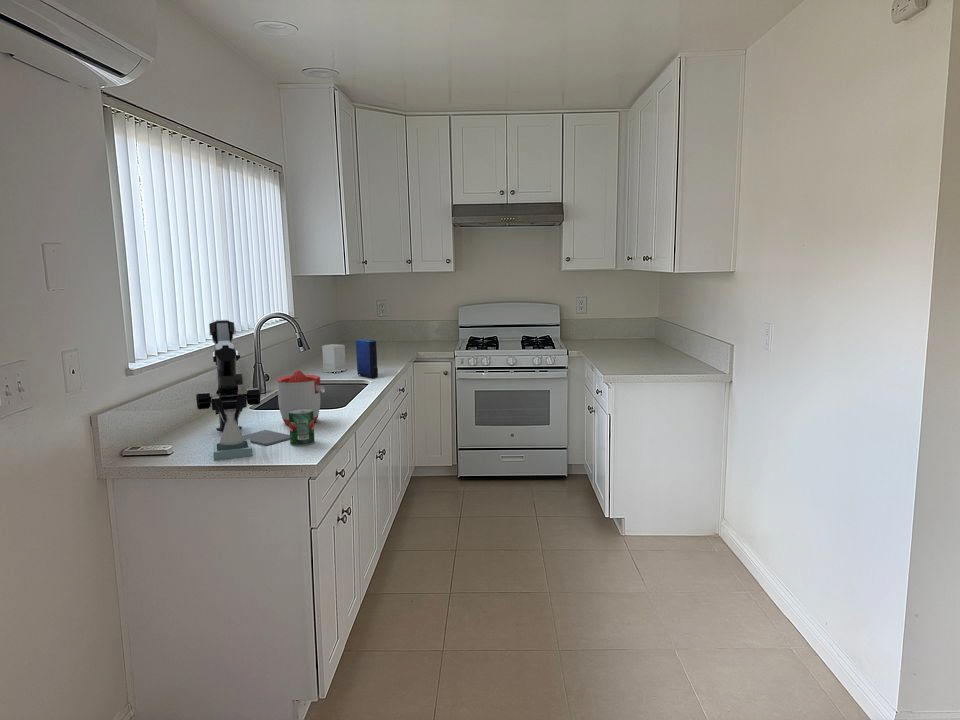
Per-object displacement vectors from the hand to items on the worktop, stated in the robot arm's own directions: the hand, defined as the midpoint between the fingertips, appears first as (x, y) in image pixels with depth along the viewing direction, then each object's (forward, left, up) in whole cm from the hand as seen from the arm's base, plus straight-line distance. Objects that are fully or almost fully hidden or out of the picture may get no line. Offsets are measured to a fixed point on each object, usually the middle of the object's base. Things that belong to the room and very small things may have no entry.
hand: (230, 421), depth 199 cm
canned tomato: (+8, +21, -11) cm, 25 cm away
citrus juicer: (-14, +40, -11) cm, 44 cm away
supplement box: (-92, +129, -11) cm, 159 cm away
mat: (-7, +18, -11) cm, 22 cm away
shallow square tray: (-1, +1, -11) cm, 11 cm away
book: (-64, +126, -11) cm, 142 cm away
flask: (-1, +1, -7) cm, 7 cm away
